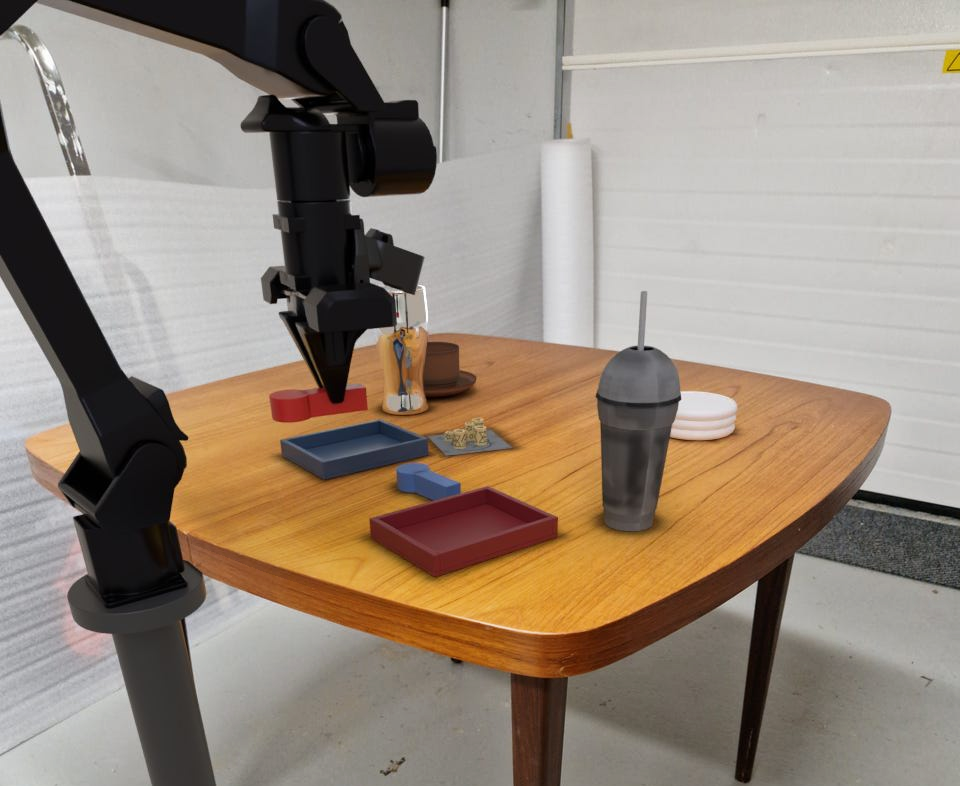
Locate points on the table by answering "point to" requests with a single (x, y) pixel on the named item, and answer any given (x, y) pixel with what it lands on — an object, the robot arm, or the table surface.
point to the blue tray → (353, 448)
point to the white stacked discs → (704, 416)
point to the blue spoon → (425, 482)
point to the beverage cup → (635, 430)
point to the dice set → (469, 439)
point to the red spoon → (314, 403)
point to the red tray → (462, 529)
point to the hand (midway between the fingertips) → (333, 400)
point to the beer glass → (404, 354)
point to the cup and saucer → (445, 371)
